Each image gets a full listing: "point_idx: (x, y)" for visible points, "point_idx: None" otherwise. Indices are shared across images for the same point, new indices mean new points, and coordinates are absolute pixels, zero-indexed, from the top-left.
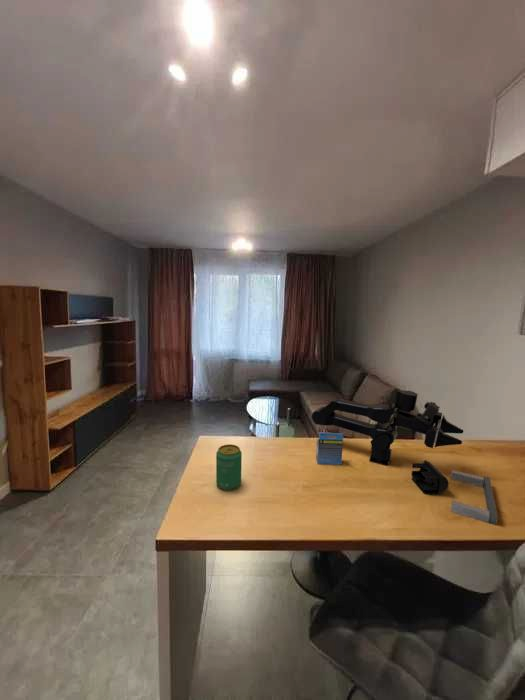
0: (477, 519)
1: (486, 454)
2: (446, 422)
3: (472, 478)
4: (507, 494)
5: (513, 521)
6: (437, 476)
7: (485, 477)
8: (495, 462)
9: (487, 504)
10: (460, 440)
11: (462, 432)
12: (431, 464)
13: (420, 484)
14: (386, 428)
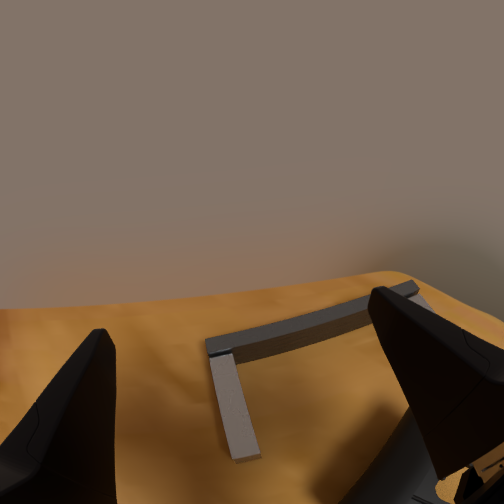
0: None
1: (10, 367)
2: (33, 476)
3: (240, 386)
4: (227, 313)
5: (355, 283)
6: None
7: (215, 348)
8: (44, 350)
9: (358, 322)
10: (387, 290)
11: (113, 344)
12: (390, 494)
13: (444, 478)
14: None
